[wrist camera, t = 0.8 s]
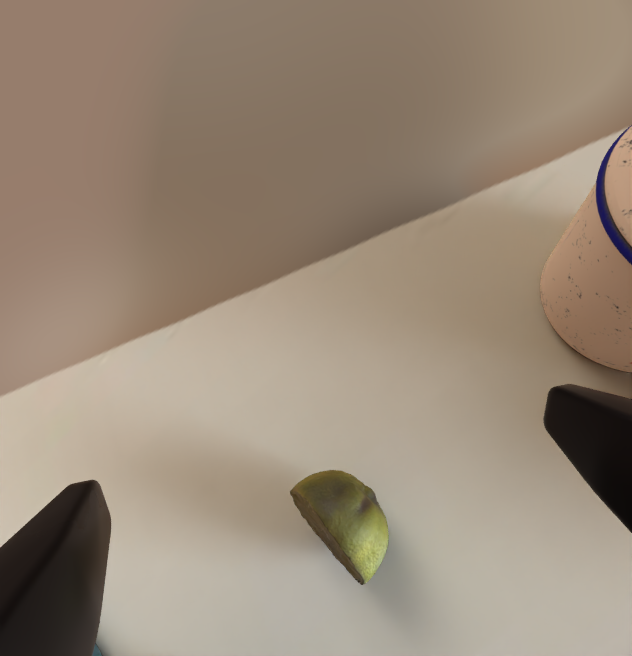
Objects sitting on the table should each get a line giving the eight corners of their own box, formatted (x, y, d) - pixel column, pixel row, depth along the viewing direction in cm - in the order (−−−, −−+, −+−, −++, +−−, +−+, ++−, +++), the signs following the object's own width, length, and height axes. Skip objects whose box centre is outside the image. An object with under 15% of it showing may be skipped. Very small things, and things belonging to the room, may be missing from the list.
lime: (383, 580, 20) (375, 611, 15) (289, 551, 21) (256, 571, 16) (398, 484, 21) (395, 485, 16) (309, 462, 22) (283, 457, 18)
